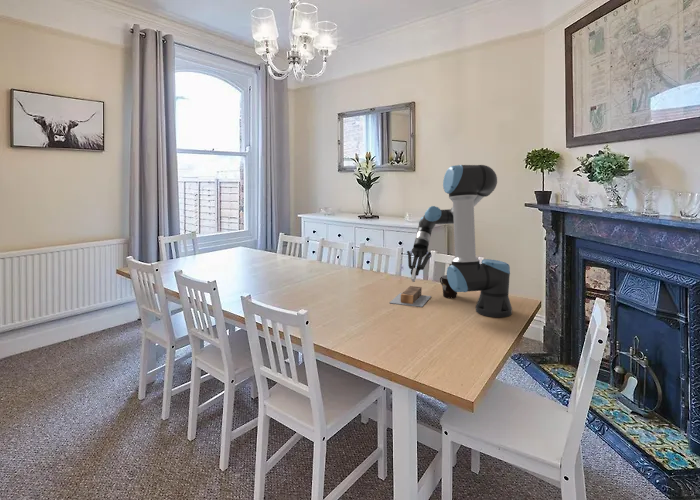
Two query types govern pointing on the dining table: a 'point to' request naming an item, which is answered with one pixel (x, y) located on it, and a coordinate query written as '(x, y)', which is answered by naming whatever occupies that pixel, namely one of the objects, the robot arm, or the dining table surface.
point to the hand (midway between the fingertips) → (412, 280)
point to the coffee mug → (447, 288)
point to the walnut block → (411, 294)
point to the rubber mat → (417, 303)
